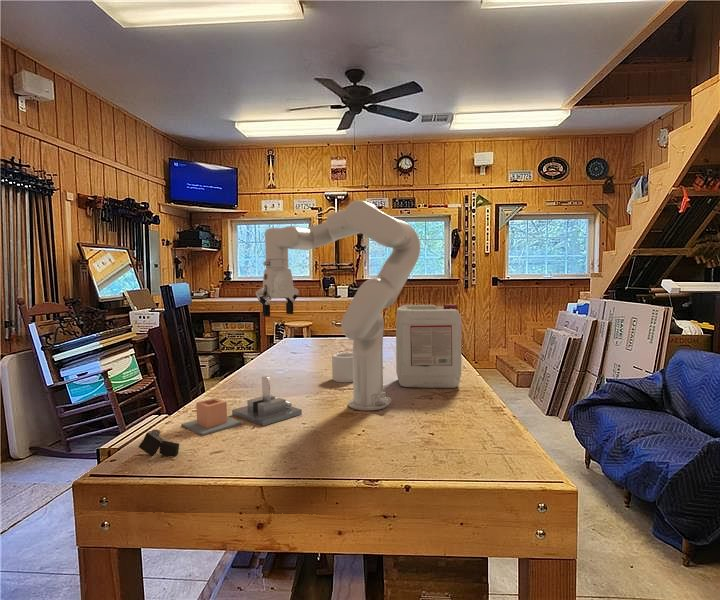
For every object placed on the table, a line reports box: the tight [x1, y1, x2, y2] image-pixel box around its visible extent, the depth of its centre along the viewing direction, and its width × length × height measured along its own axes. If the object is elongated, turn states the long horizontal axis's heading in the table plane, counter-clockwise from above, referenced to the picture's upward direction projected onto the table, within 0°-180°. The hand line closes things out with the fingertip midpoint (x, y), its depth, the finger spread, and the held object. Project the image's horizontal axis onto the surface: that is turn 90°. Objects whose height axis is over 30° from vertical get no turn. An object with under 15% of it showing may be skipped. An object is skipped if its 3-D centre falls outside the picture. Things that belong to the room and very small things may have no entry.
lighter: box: [138, 429, 180, 457], centre depth 111 cm, size 9×2×6 cm
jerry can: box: [395, 303, 463, 389], centre depth 175 cm, size 24×19×30 cm
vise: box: [231, 375, 303, 427], centre depth 140 cm, size 16×14×12 cm
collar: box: [195, 397, 228, 428], centre depth 131 cm, size 6×6×6 cm
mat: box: [181, 416, 243, 437], centre depth 132 cm, size 12×12×1 cm
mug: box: [331, 352, 353, 383], centre depth 185 cm, size 14×11×10 cm
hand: (278, 315), depth 158 cm, fingers open, 9 cm apart
